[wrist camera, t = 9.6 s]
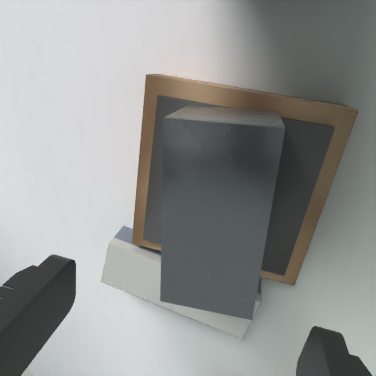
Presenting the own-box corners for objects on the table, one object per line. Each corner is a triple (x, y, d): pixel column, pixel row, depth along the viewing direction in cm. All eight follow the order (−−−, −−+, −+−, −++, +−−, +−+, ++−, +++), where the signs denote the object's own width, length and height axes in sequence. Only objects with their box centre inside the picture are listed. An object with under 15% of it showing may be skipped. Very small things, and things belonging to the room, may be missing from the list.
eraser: (116, 260, 27) (100, 281, 24) (125, 224, 25) (109, 243, 23) (243, 310, 26) (241, 338, 23) (260, 276, 24) (261, 302, 22)
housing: (189, 104, 17) (163, 117, 13) (278, 111, 16) (285, 128, 12) (181, 251, 21) (160, 301, 17) (253, 263, 20) (252, 320, 16)
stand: (143, 228, 25) (128, 247, 22) (158, 73, 20) (142, 74, 17) (291, 265, 23) (295, 291, 20) (346, 106, 18) (361, 112, 15)
